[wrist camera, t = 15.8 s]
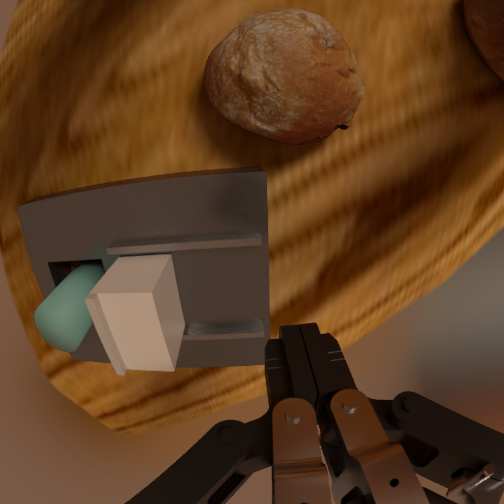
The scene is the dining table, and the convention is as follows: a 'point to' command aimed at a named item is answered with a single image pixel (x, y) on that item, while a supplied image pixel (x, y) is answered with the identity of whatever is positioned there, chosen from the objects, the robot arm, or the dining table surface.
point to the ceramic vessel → (487, 31)
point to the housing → (170, 252)
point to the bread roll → (284, 77)
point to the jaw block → (139, 313)
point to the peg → (69, 307)
